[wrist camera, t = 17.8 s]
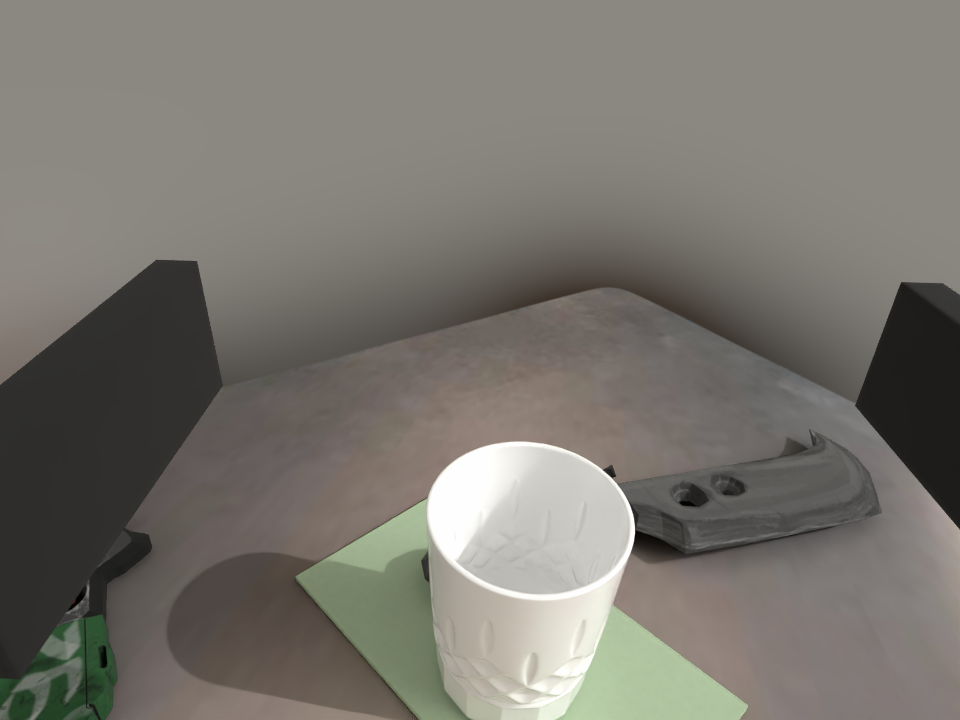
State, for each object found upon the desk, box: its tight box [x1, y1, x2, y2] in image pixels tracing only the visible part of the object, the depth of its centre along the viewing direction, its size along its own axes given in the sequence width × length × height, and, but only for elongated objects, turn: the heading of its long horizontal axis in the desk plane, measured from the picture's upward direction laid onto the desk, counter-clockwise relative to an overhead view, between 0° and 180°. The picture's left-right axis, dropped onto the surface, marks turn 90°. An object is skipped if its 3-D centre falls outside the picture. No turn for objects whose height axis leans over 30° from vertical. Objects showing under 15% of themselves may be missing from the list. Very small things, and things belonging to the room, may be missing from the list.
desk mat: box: [295, 498, 748, 720], centre depth 32 cm, size 20×11×1 cm, turn 44°
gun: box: [0, 528, 152, 720], centre depth 31 cm, size 16×2×10 cm
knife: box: [421, 429, 882, 583], centre depth 39 cm, size 9×2×30 cm
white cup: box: [426, 442, 635, 720], centre depth 27 cm, size 8×8×10 cm
